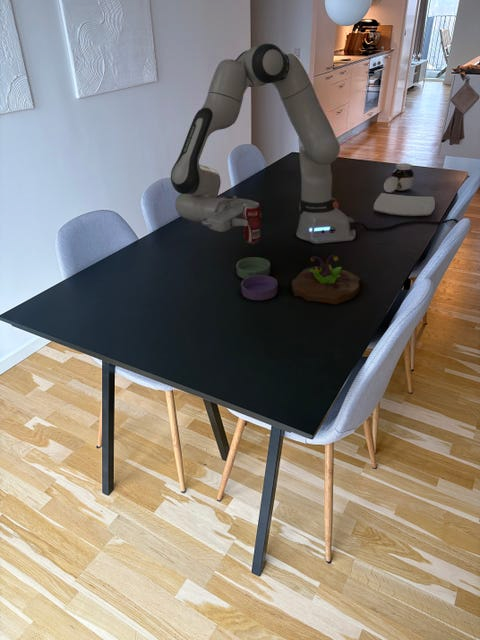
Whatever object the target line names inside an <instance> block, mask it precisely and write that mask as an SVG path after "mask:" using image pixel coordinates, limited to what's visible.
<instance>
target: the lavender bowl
mask: <svg viewBox="0 0 480 640" xmlns="http://www.w3.org/2000/svg"><path fill="white" fill-rule="evenodd" d="M240 292H241V295H242V296H243V297H244V298H246V299H247V300H250V301H251V300H252V301H265V300H269V299H272V298H274V297H275V296H276V295H277V294H278V280H277V279H276V278H274V277H273V276H270V275H268V276H266V275H254V276H250V277H247V278H245V279H242V281H241V282H240Z"/></svg>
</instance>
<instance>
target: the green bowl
mask: <svg viewBox="0 0 480 640" xmlns="http://www.w3.org/2000/svg"><path fill="white" fill-rule="evenodd" d="M235 268H236V275H237V276H238V277H239V278H241V279H242V280H244V279H245V278H247V277H250V276H254V275H266V276H270V273H271V262H270V261H269V260H268V259H266V258H264V257H258V256H251V257H245V258H242V259H240V260H238V261H237V262H236V265H235Z"/></svg>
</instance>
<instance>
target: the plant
mask: <svg viewBox="0 0 480 640" xmlns="http://www.w3.org/2000/svg"><path fill="white" fill-rule="evenodd" d="M331 259H333V261H334V262H339V257H338V256H337V255H335V254H331V255H329V256H328V257H327V259H326V261H325V262H324V261H323V260H322V258H321V257H319V256H317V255H316V256H312V257H310V261H311V262H315V260H318V261H319V263H320V265H319V266H311V267H307V268H304V269H303V270H302V271H301V272H300V273H299V274H298V275H297V276H296V277H295V278H294V279H293V280H292V281H291V292H292V294H293V296H295V297H301V298H302V299H304V300H305V301H308V302H317V303H323V304H324V303H325V304H329V305H339V304H341V303H343V302H347V301H350V300H351V299H353V298H354V297H356V295H358V293H359V292H360V285H361V279H362V278H361V277H360V276H358V275H356V274H354V273H352V272H350V271H347V270H343V269H342V268H343V267H342V266H338V267H335V268H334V267H332V265H331V264H330V260H331Z"/></svg>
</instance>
